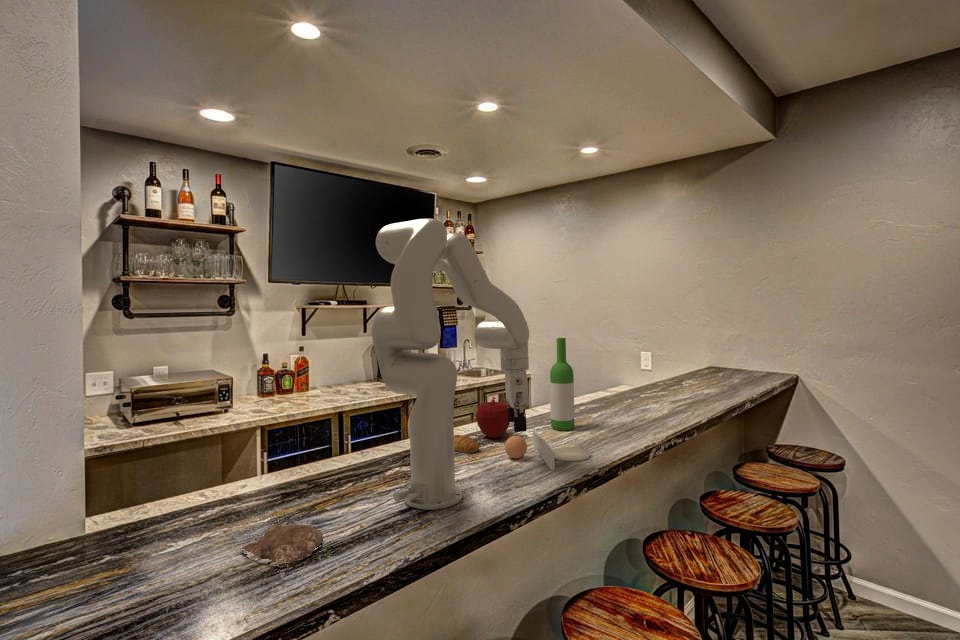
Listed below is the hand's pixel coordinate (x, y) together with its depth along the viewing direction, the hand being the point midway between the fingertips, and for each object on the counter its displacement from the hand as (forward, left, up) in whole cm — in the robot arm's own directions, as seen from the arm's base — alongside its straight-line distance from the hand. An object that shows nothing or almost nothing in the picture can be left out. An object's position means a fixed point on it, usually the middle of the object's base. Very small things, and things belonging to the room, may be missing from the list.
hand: (517, 426), depth 135 cm
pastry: (-3, +17, -9) cm, 20 cm away
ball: (-1, 0, -6) cm, 6 cm away
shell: (-65, +1, -9) cm, 66 cm away
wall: (+5, -5, -9) cm, 11 cm away
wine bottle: (+33, +7, -9) cm, 35 cm away
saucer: (+10, -10, -9) cm, 17 cm away
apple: (+11, +18, -9) cm, 23 cm away
